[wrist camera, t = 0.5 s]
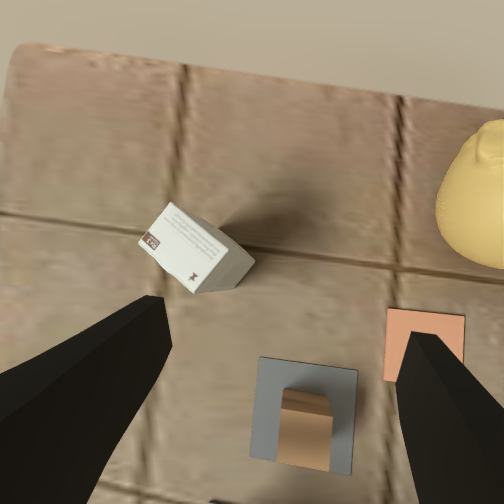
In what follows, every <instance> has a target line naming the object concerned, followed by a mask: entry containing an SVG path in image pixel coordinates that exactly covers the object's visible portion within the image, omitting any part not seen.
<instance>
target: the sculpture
mask: <svg viewBox="0 0 504 504" xmlns="http://www.w3.org/2000/svg"><path fill="white" fill-rule="evenodd" d="M436 220H437V224H438V227H439V230H440V232H441V234H442V236H443V238H444V239H445V241H446V242H447V243H448V244H449V245H450V246H451V247H452V248H453V249H454V250H455V251H457V252H458V253H459V254H461V255H462V256H464V257H466V258H468V259H470V260H472V261H474V262H476V263H479V264H482V265H485V266H489V267H493V268H498V269H504V119H499V120H494V121H489V122H486V123H485V124H484V125H483V126H482V127H481V128H480V129H479V130H478V132H477V133H476V134H473V135H472V136H471V137H470V138H469V140H468V141H466V142H465V143H464V144H463V146H462V148H461V150H460V152H459V154H458V155H457V157H456V158H455V160H454V161H453V162H452V164H451V166H450V168H449V169H448V171H447V173H446V175H445V178H444V180H443V182H442V184H441V186H440V189H439V192H438V195H437V200H436Z"/></svg>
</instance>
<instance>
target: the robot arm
mask: <svg viewBox="0 0 504 504" xmlns="http://www.w3.org/2000/svg"><path fill="white" fill-rule="evenodd" d="M171 348H172V340H171V335H170V330H169V324H168V319H167V314H166V308H165V303H164V298H163V297H156V296H149V295H145V296H143V297H141V298H139V299H138V300H136V301H134V302H132V303H130V304H129V305H127V306H125V307H123V308H122V309H120V310H118V311H117V312H115V313H113V314H111V315H110V316H108V317H106V318H105V319H103V320H101V321H99V322H98V323H96V324H94V325H93V326H91V327H89V328H87V329H86V330H84V331H82V332H80V333H79V334H77V335H75V336H73V337H71V338H69V339H68V340H66V341H64V342H62V343H60V344H58V345H56V346H55V347H53V348H51V349H49V350H47V351H45V352H43V353H42V354H40V355H38V356H36V357H34V358H32V359H30V360H28V361H26V362H24V363H22V364H20V365H18V366H16V367H14V368H11V369H9V370H7V371H5V372H3V373H1V374H0V504H87V502H88V500H89V498H90V496H91V494H92V492H93V490H94V488H95V486H96V484H97V482H98V480H99V478H100V476H101V474H102V472H103V470H104V468H105V466H106V464H107V462H108V460H109V458H110V456H111V455H112V453H113V451H114V449H115V448H116V446H117V444H118V442H119V441H120V439H121V438H122V436H123V434H124V433H125V431H126V429H127V428H128V426H129V425H130V423H131V421H132V420H133V418H134V416H135V415H136V413H137V412H138V410H139V408H140V407H141V405H142V403H143V402H144V400H145V399H146V397H147V395H148V394H149V392H150V390H151V389H152V387H153V385H154V384H155V382H156V380H157V378H158V377H159V375H160V373H161V371H162V369H163V366H164V364H165V362H166V360H167V358H168V355H169V353H170V351H171ZM396 394H397V403H398V411H399V419H400V425H401V429H402V433H403V438H404V442H405V446H406V450H407V455H408V459H409V463H410V467H411V471H412V475H413V480H414V484H415V488H416V492H417V496H418V500H419V504H504V408H503V407H502V406H501V405H500V404H499V403H498V402H497V401H496V400H495V399H494V398H493V397H492V396H491V394H490V393H489V392H488V391H487V390H486V389H485V388H484V387H483V386H482V385H481V384H480V382H479V381H478V380H477V379H476V378H475V377H474V376H473V375H472V374H471V372H470V371H469V370H468V369H467V368H466V367H465V366H464V365H463V364H462V362H461V361H460V360H459V359H458V358H457V357H456V356H455V354H454V353H453V352H452V351H451V350H450V349H449V348H448V347H447V345H446V344H445V343H444V342H443V341H442V340H441V339H440V338H439V337H438V335H437V334H430V333H422V332H415V331H411V333H410V337H409V340H408V343H407V347H406V350H405V353H404V357H403V360H402V363H401V367H400V370H399V374H398V377H397V380H396ZM207 504H215V503H207Z"/></svg>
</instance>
